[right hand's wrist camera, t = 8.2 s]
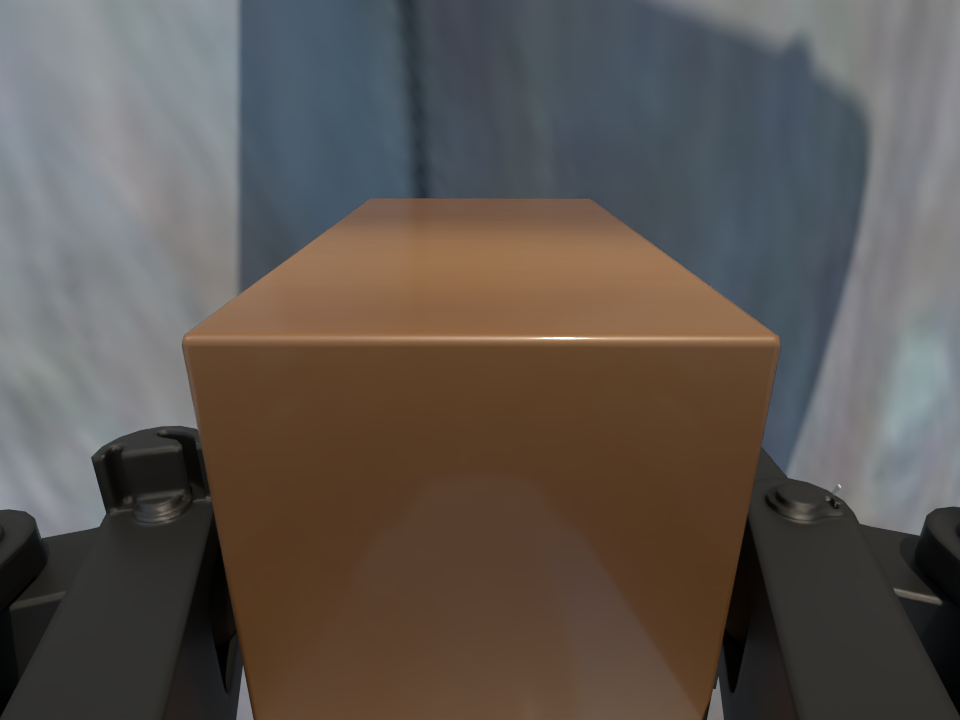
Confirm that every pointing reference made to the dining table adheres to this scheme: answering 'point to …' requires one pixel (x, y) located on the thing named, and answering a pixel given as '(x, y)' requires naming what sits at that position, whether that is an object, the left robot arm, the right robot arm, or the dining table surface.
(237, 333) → the bar
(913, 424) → the dining table surface
